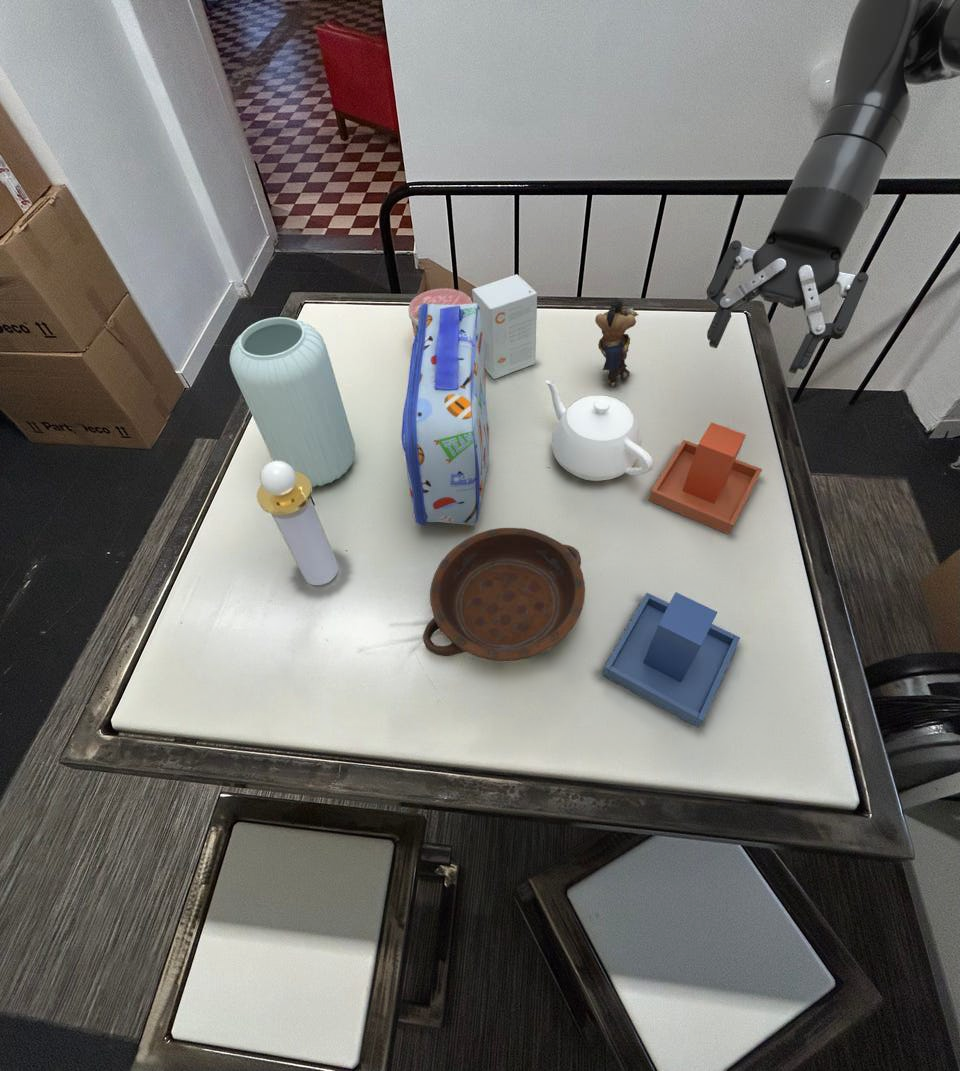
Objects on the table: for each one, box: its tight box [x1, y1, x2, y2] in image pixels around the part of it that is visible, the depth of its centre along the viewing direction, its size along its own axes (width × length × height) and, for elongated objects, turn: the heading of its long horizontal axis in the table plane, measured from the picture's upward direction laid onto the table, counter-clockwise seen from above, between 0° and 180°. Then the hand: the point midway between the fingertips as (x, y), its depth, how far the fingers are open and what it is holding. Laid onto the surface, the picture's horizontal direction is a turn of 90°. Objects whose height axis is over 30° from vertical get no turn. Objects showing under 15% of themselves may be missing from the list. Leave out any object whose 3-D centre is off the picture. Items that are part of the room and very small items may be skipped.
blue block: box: [643, 591, 718, 682], centre depth 65 cm, size 4×4×9 cm
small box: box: [471, 273, 538, 380], centre depth 97 cm, size 8×6×13 cm
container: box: [407, 288, 473, 337], centre depth 102 cm, size 10×10×8 cm
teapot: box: [545, 379, 655, 482], centre depth 84 cm, size 20×12×10 cm, turn 39°
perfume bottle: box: [256, 460, 339, 586], centre depth 70 cm, size 6×6×20 cm
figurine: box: [594, 298, 639, 388], centre depth 92 cm, size 7×6×15 cm
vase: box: [229, 316, 356, 488], centre depth 81 cm, size 12×12×22 cm
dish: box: [422, 527, 586, 662], centre depth 72 cm, size 18×22×5 cm
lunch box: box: [401, 302, 490, 527], centre depth 80 cm, size 28×10×22 cm, turn 0°
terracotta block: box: [683, 421, 747, 503], centre depth 80 cm, size 4×4×9 cm
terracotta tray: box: [648, 439, 763, 535], centre depth 83 cm, size 11×11×2 cm
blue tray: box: [602, 592, 741, 728], centre depth 68 cm, size 11×11×2 cm
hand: (751, 358), depth 65 cm, fingers open, 8 cm apart
